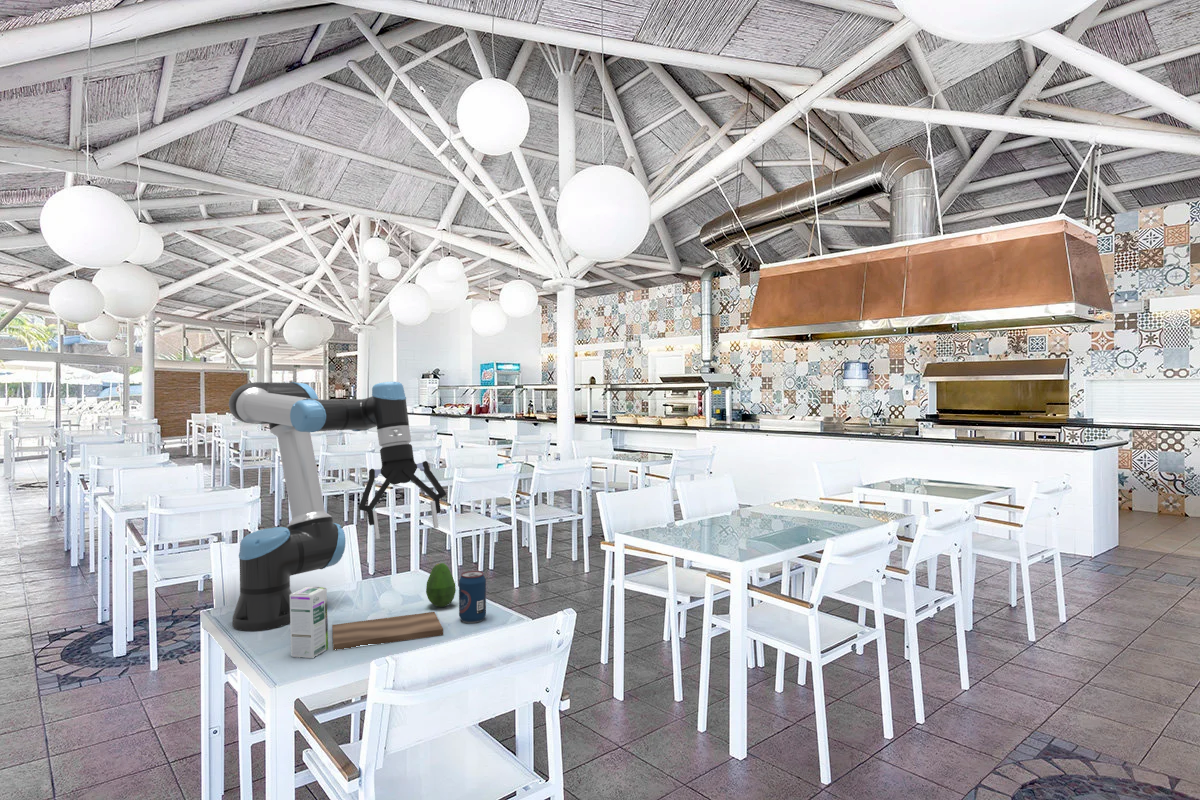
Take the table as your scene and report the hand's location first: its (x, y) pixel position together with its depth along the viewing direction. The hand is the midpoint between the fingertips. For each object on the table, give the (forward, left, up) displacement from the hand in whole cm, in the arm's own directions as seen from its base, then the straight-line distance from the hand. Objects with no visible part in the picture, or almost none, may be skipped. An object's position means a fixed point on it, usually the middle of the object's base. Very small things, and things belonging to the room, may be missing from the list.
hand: (407, 533), depth 159 cm
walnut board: (-7, -4, -26) cm, 27 cm away
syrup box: (-1, -22, -26) cm, 34 cm away
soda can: (-9, +17, -26) cm, 32 cm away
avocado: (-23, +11, -26) cm, 36 cm away
